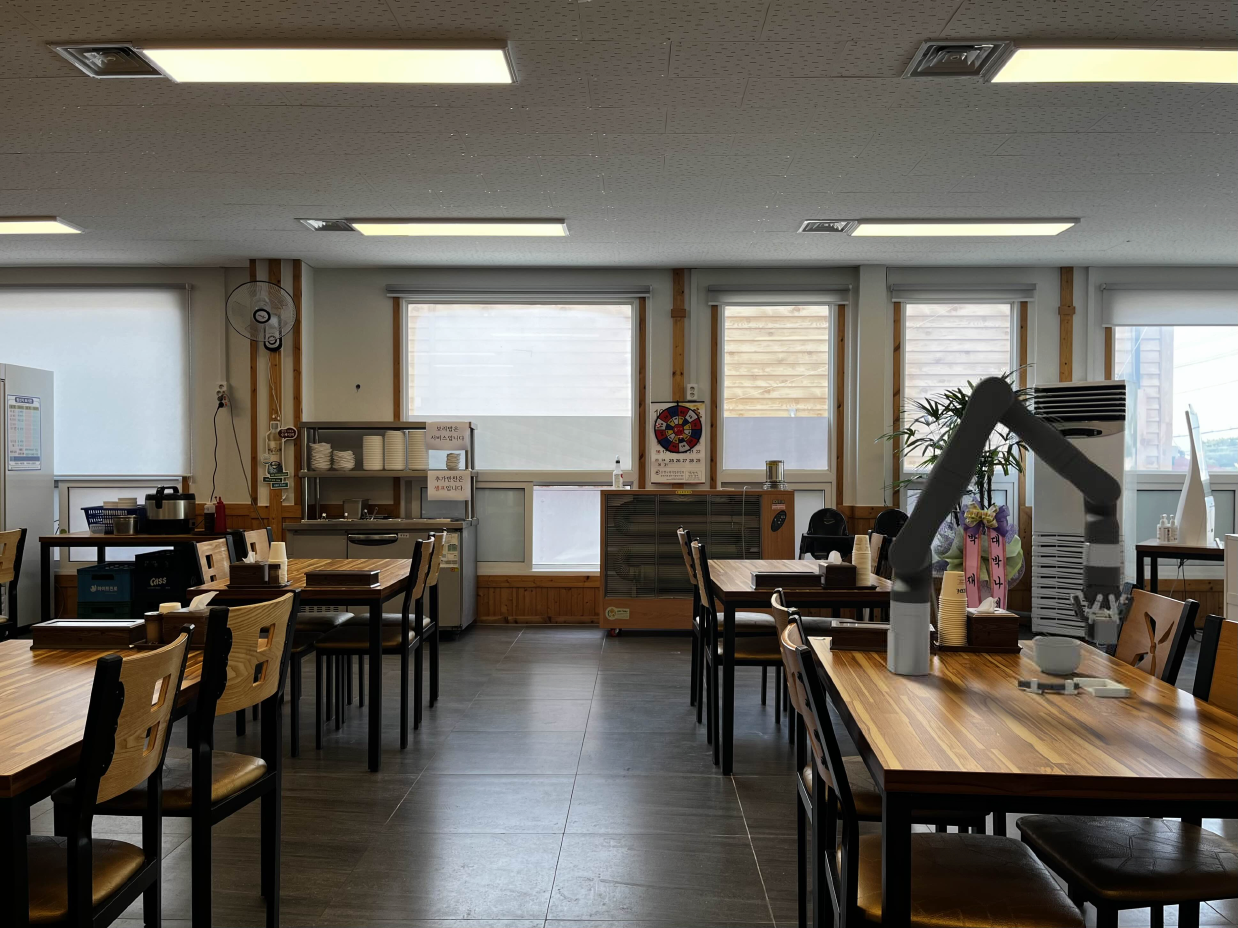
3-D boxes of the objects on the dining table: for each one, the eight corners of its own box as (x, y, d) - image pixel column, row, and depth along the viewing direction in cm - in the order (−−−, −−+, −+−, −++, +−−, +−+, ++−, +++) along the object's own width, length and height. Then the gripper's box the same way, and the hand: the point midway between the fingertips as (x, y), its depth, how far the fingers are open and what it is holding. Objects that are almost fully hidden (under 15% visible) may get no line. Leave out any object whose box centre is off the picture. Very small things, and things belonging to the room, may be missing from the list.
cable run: (1023, 690, 201) (1023, 683, 201) (1015, 685, 205) (1015, 679, 205) (1083, 691, 200) (1083, 685, 200) (1074, 687, 205) (1074, 680, 205)
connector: (1098, 643, 201) (1098, 620, 201) (1085, 638, 207) (1085, 616, 207) (1117, 643, 201) (1117, 620, 201) (1103, 639, 206) (1103, 616, 207)
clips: (1029, 693, 200) (1029, 680, 200) (1019, 687, 206) (1019, 675, 206) (1079, 694, 200) (1079, 681, 200) (1067, 688, 205) (1067, 676, 205)
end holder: (1094, 696, 199) (1094, 687, 199) (1073, 685, 209) (1073, 677, 209) (1129, 696, 198) (1129, 688, 198) (1106, 686, 208) (1106, 678, 208)
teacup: (1089, 677, 218) (1089, 644, 219) (1043, 676, 219) (1044, 643, 219) (1062, 665, 232) (1062, 634, 232) (1019, 664, 233) (1019, 633, 233)
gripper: (1076, 564, 200) (1076, 642, 200) (1142, 565, 200) (1142, 643, 200) (1061, 561, 208) (1061, 636, 208) (1125, 562, 207) (1124, 638, 207)
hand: (1101, 639), depth 204 cm, fingers closed on connector, 4 cm apart
